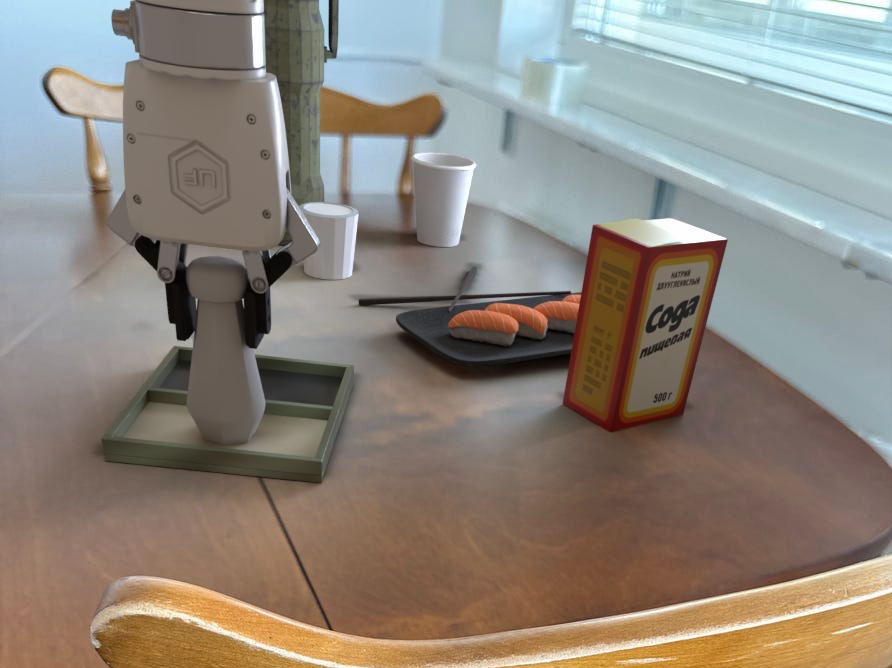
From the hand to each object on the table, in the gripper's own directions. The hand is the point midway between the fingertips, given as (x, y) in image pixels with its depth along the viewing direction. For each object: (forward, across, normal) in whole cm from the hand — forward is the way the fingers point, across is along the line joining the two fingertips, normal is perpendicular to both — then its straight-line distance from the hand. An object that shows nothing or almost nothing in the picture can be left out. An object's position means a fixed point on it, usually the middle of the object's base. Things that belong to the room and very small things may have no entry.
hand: (221, 335), depth 67 cm
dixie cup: (+9, +13, +65) cm, 67 cm away
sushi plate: (+9, +21, +37) cm, 44 cm away
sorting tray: (+9, 0, +5) cm, 10 cm away
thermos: (+9, -6, +59) cm, 60 cm away
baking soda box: (+9, +33, +15) cm, 37 cm away
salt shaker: (+8, 0, 0) cm, 8 cm away
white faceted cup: (+9, +1, +46) cm, 47 cm away
